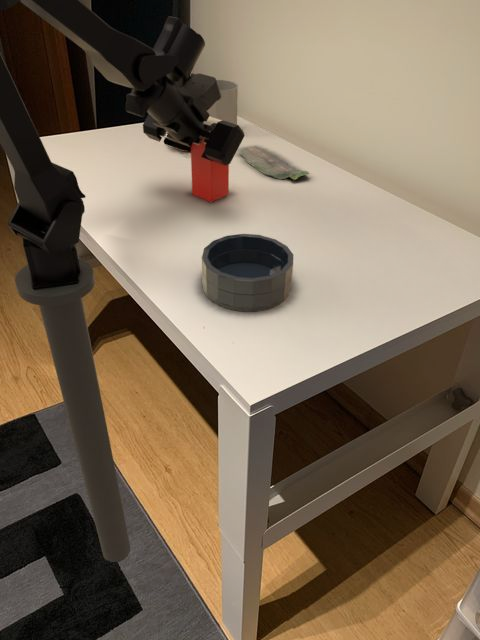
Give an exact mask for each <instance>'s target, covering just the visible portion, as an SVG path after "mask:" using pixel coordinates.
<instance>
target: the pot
mask: <svg viewBox="0 0 480 640" xmlns="http://www.w3.org/2000/svg"><path fill="white" fill-rule="evenodd" d="M202 251H203V252H202V255H201V282H202V289H203V291H204V293H205V295H206V297H207V298H208V299H209V300H210V301H211V302H213V303H214V304H216V305H217V306H220V307H222V308H224V309H227V310H231V311H237V312H247V313H249V312H251V313H252V312H262V311H266V310H270V309H274V308H276V307H278V306H279V305H281V304H283V302H285V301H286V300H287V299H288V297H289V296H290V293H291V290H292V283H293V270H294V253H293V252H292V251H291V249H290V248H289V246H287V245H286V244H284V243H283V242H281V241H279V240H277V239H275V238H272V237H269V236H266V235H263V234H253V233H239V234H238V233H237V234H230V235H225V236H222V237H220V238H217V239H214V240H212V241H211V242H210V243H209V244H208V245H206V246H205V247H204V249H203V250H202Z"/></svg>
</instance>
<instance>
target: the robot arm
mask: <svg viewBox="0 0 480 640" xmlns="http://www.w3.org/2000/svg"><path fill="white" fill-rule="evenodd" d="M19 2H20V3H22V4H23V5H24V6H26V7H27V8H28V9H29V10H31V11H32V12H33V13H35V14H36V15H37V16H39V17H40V18H41V19H42V20H44V21H45V22H47V23H48V24H49V25H50V26H52V27H53V28H54V29H56V30H57V31H59V32H60V33H61V34H62V35H64V36H65V37H66V38H68V39H69V40H70V41H71V42H73V43H74V44H76V45H77V46H78V47H79V48H81V49H82V51H84V52H85V53H86V55H87V56H88V58H89V60H90V62H91V64H92V66H93V67H95V68H96V70H97V71H98V72H99V73H101V75H102V76H103V77H104V79H106V80H107V81H108V82H111V83H113V84H116V85H120V86H123V87H126V88H129V89H131V92H130V93H127V94H126V95H125V96H126V102H125V111H126V112H127V113H129V114H131V115H132V114H133V115H134V116H138V117H141V118H144V117H145V116H146V114H147V113H148V114H147V116H146V117H145V120H144V122H143V123H142V132H143V133H144V135H146V136H147V138H148V139H151V140H154V141H156V142H159V143H160V142H161V141H162V139H163V138H164V139H163V144H164V145H167V146H168V147H171V148H173V149H177V150H179V149H180V150H179V151H182V150H184V151H183V152H188V153H191V146H192V144H193V143H194V144H197V145H200V144H201V142H202V140H204V143H205V144H206V145H205V151H204V152H203V154H202V156H201V157H202V158H204V159H207V160H210V161H213V162H217V163H220V164H222V165H225V166H226V165H228V164H229V165H230V164H231V163H232V161H233V159H234V157H235V156H236V153H237V151H238V149H239V148H240V146H241V143H242V142H243V140H244V138H245V132H244V129H242V128H241V126H240V125H239V124H237V125H236V124H233V123H230V122H226V121H223V120H222V121H220V122H217V124H216V123H213V124H211V125H206V124H203V123H204V121H207V120H208V118H209V116H210V114H209V113H208V112H207V110H208V109H210V108H211V106H212V105H213V104H214V103H215V102H216V101H217V100H219V99H220V98H221V93H220V90H219V87H218V84H217V81H216V80H217V78H216V77H214V76H211V75H207V74H203V73H193V72H192V71H193V70H194V68H195V66H196V64H197V62H198V60H199V58H200V57H201V54H202V52H203V50H204V49H205V47H206V41H205V39H204V38H203V36H202V35H201V34H200V33H199V32H197V31H196V30H194V29H193V28H191V27H190V26H189V25H187V24H185V23H183V22H182V20H181V19H180V18H179V17H174V16H169V15H168V16H167V18H166V20H165V23H164V25H163V28H162V30H161V33H160V34H159V37H158V38H157V40H156V42H155V44H154V46H153V47H151V46H149V45H147V44H146V43H143V42H142V41H140V40H139V39H137V38H135V37H133V36H131V35H129V34H126V33H124V32H121V31H119V30H118V29H116V28H114V27H112V26H110V25H109V24H108V23H107V22H105V20H103V19H102V18H101V17H100V16H99V15H97V14H96V13H95V12H94V11H93V10H92V9H90V8H89V7H88V6H87V5H86V4H84V3H83V1H81V0H0V12H3V11H5V10H8V9H10V8H12V7H14V6H15V5H17V4H18V3H19ZM172 81H173V82H174V83H173V82H172ZM209 131H210V132H209ZM0 146H1V148H2V150H3V151H4V153H5V155H6V157H7V159H8V161H9V163H10V165H11V167H12V168H13V171H14V182H13V183H14V184H13V185H14V186H13V187H14V191H15V194H16V197H17V200H18V202H17V205H16V206H15V208H14V209H13V211H12V214H11V216H10V217H9V220H8V221H7V226H8V228H9V229H10V230H11V232H12V233H13V235H15V236H17V237H20V238H22V247H23V251H24V255H25V259H26V262H27V265H28V267H29V271H30V275H31V286H32V289H33V290H37V289H44V288H52V287H59V286H66V285H73V284H78V283H79V278H78V274H80V273H81V270H80V265H79V260H78V258H79V254H78V250H77V244H79V242H80V235H81V227H82V220H83V214H84V213H85V212H86V209H85V208H86V207H85V203H84V200H83V199H85V198H86V194H85V193H83V192H82V191H81V188H80V186H79V182H78V178H77V176H76V175H75V173H74V171H72V170H71V169H68V168H66V167H63V166H61V165H58V164H57V163H54V162H52V160H51V158H50V156H49V154H48V152H47V150H46V147H45V145H44V143H43V141H42V139H41V137H40V134H39V133H38V130H37V129H36V126H35V124H34V121H33V119H32V118H31V116H30V113H29V111H28V109H27V107H26V104H25V102H24V101H23V99H22V95H21V94H20V92H19V89H18V88H17V85H16V83H15V81H14V79H13V77H12V75H11V72H10V71H9V68H8V66H7V64H6V62H5V60H4V57H3V56H2V53H1V52H0Z"/></svg>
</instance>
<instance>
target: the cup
mask: <svg viewBox="0 0 480 640" xmlns="http://www.w3.org/2000/svg"><path fill="white" fill-rule="evenodd" d="M216 81H217V84H218V87H219V90H220V93H221V98H220V99H219V100H217V101H216V102H215V103H214V104H213V105H212V106H211V108H210V109H208V110H207V112H208V113H209V114H210V117H213V118H216V119H219V120H223V121H226V122H230V123H233V124H236V125H238V97H239V96H238V95H239V93H238V89H239V85H238V84H237V83H236V82H234V81H231V80H224V79H216Z"/></svg>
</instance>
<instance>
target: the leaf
mask: <svg viewBox="0 0 480 640" xmlns="http://www.w3.org/2000/svg"><path fill="white" fill-rule="evenodd" d="M239 156H241V157H243V158H244V159H245V162H246V163H247V164H249V165H250V166H251V167H253V168H254V169H256V170H257V171H258V172H260V173H262V174H263V175H265V176H270V177H273V178H274V179H275V178H276V179H278V180H284V179H287V178H290V179H292V180H297V179H298V178H300V177H302V176H307V175H311V173H310V172H309V171H307V170H301V169H297V168H296V167H294V166H292V165H289V164H288V163H287V162H286V161H285V160H284V159H282V158H280V157H279V156H278V155H275V154H274V153H272V152H271V151H268V150H266V149H264V148H260V147H257V146H248V147H246V148H243V149H242V150H241V153H240V154H239Z"/></svg>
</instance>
